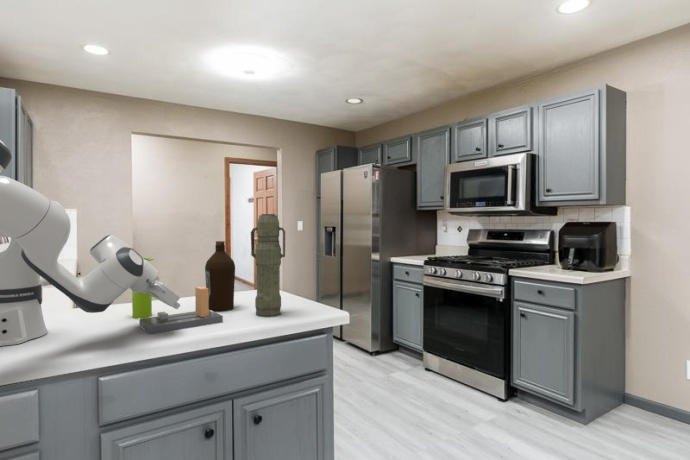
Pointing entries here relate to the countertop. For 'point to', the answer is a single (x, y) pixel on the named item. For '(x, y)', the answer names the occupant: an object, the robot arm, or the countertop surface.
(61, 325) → the countertop surface
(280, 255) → the thermos
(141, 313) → the soap dispenser
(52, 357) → the countertop surface
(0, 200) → the robot arm
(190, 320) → the console
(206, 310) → the fader lever
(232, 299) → the olive oil
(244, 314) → the countertop surface
